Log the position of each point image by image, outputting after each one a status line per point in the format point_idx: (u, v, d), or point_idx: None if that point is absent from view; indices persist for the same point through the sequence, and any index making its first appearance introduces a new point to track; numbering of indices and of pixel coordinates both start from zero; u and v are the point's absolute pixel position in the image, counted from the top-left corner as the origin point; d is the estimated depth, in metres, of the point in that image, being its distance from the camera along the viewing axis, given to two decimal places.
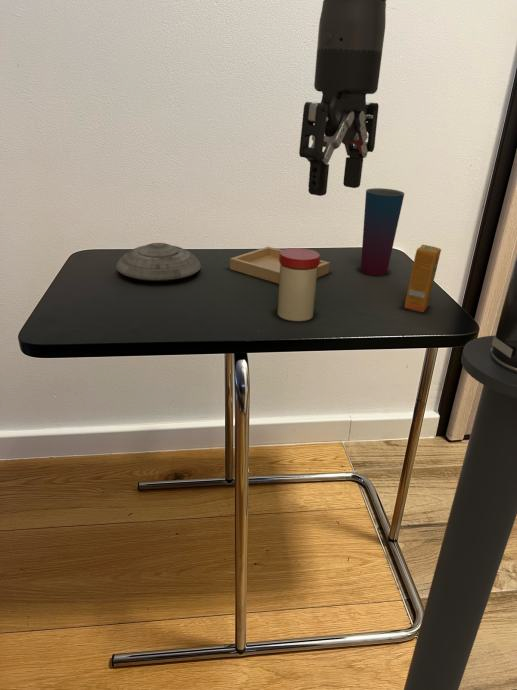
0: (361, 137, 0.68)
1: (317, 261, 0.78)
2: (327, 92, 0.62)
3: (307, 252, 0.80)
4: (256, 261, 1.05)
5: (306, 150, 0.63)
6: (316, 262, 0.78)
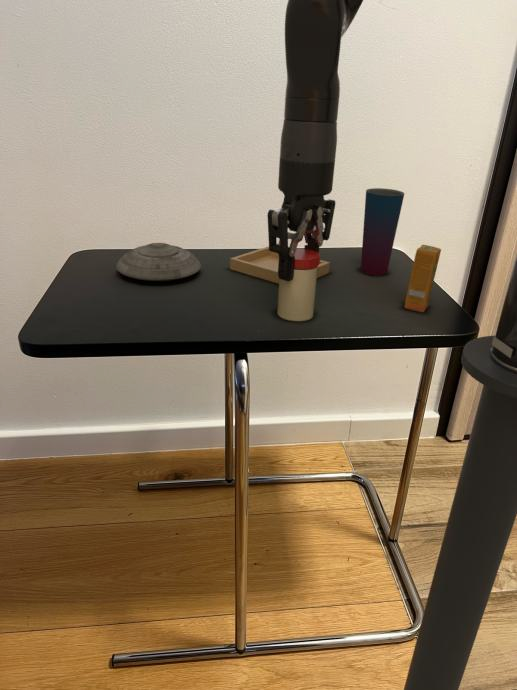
0: (318, 228, 0.78)
1: (317, 261, 0.78)
2: (288, 195, 0.73)
3: (307, 252, 0.80)
4: (256, 261, 1.05)
5: (274, 247, 0.74)
6: (316, 262, 0.78)
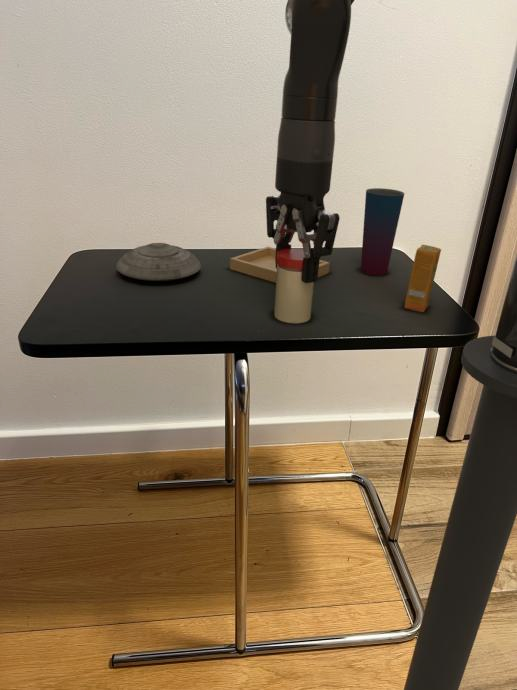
0: None
1: None
2: (318, 197, 0.72)
3: (294, 251, 0.80)
4: (256, 261, 1.05)
5: (323, 251, 0.73)
6: None
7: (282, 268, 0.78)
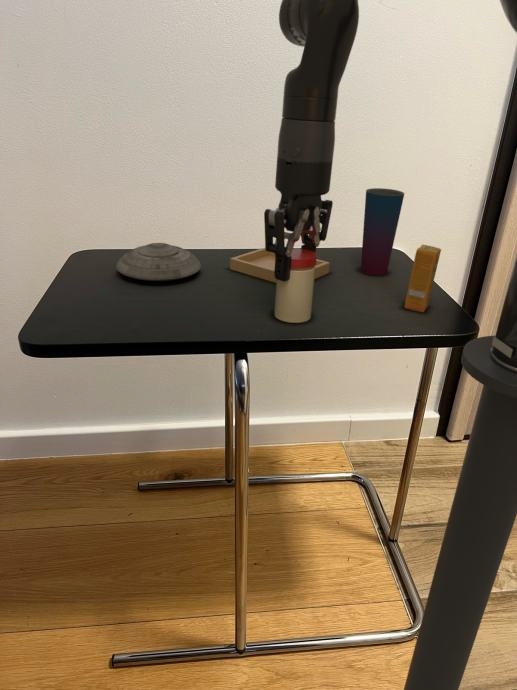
0: None
1: None
2: None
3: None
4: (256, 261, 1.05)
5: None
6: None
7: None
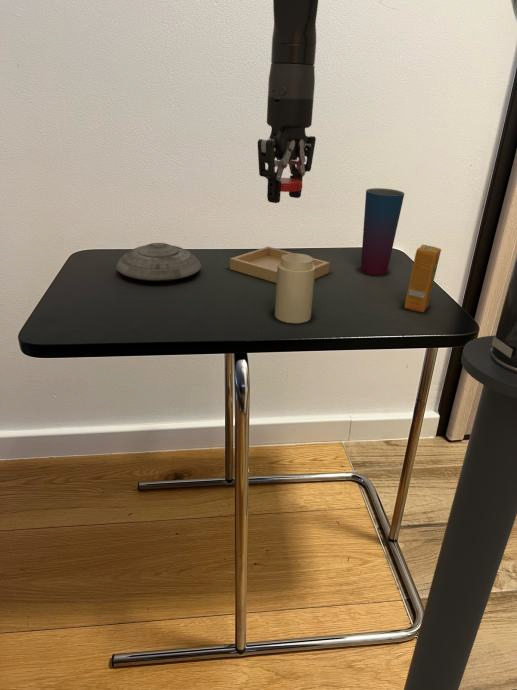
0: None
1: None
2: None
3: None
4: (256, 261, 1.05)
5: None
6: None
7: (282, 268, 0.78)
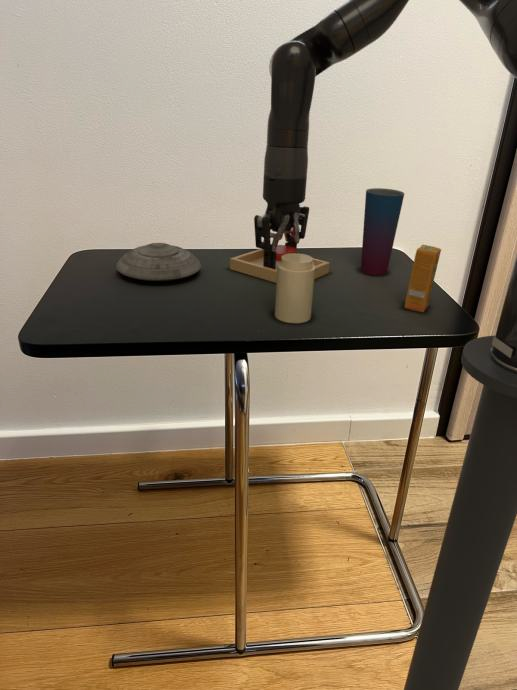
0: None
1: None
2: None
3: None
4: (256, 261, 1.05)
5: None
6: None
7: (282, 268, 0.78)
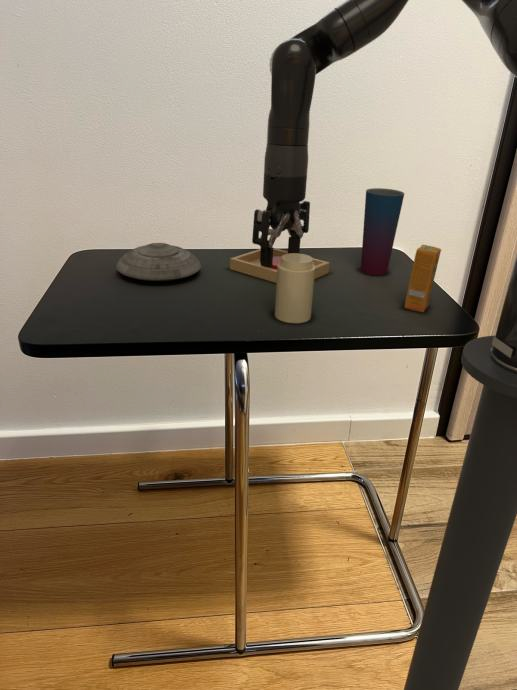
0: None
1: None
2: None
3: (273, 262, 1.00)
4: (256, 261, 1.05)
5: None
6: None
7: (282, 268, 0.78)
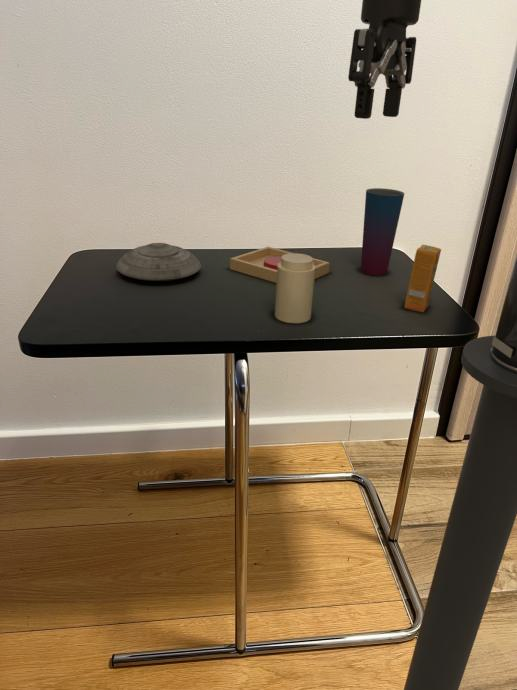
0: None
1: None
2: None
3: (273, 262, 1.00)
4: (256, 261, 1.05)
5: None
6: None
7: (282, 268, 0.78)
